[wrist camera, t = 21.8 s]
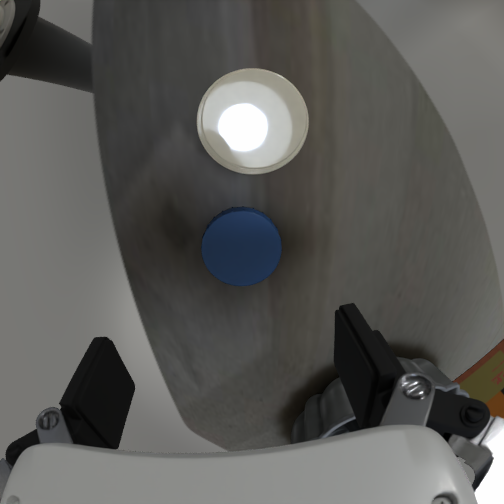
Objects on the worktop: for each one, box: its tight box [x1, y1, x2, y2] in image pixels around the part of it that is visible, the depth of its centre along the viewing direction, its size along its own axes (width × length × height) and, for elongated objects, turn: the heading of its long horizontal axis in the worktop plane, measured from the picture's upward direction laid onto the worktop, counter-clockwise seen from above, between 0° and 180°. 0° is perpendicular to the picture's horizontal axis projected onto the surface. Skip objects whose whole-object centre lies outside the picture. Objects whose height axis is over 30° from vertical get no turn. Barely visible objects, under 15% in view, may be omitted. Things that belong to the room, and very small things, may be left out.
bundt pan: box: [291, 357, 469, 444], centre depth 32 cm, size 26×26×10 cm
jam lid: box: [201, 206, 282, 286], centre depth 26 cm, size 7×7×2 cm
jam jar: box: [197, 68, 309, 174], centre depth 19 cm, size 7×7×10 cm
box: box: [453, 339, 504, 419], centre depth 29 cm, size 17×9×20 cm, turn 122°
